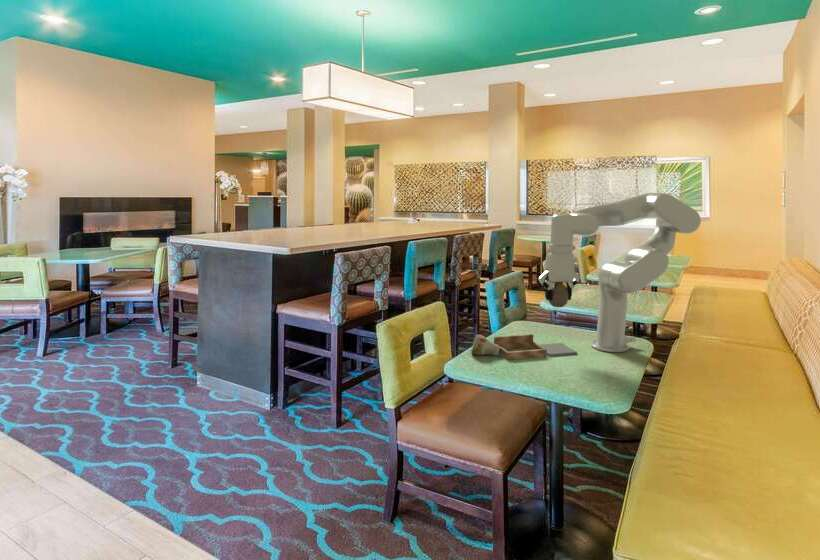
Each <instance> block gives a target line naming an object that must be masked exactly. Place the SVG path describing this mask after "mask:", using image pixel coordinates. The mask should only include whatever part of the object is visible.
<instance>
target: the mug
mask: <svg viewBox="0 0 820 560" xmlns="http://www.w3.org/2000/svg"><path fill="white" fill-rule="evenodd" d="M499 351H500V347H499V345H497V344H494V342H492V341H490V340H489V339H488V338H487V337H486V336H483V335H482V334H476V335H475V338H474V340H473V344H472V348H471V351H470V353H471V354H473V355H476V356H483V355H484V356H485V355H491V356H495V357H496V356H497V355H499V354H498V353H499Z"/></svg>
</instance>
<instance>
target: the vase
mask: <svg viewBox="0 0 820 560" xmlns="http://www.w3.org/2000/svg"><path fill="white" fill-rule="evenodd" d="M566 287H567V286H565V284H564V282H554V284H553V286H552V288H551V290H552V301H548V302H549V305H550V306H552V307H554V308H563V307H565V306H566V305H567V304H568V301H569V300H568V297H569V295H568V291H567V289H566Z"/></svg>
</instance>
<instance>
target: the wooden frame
mask: <svg viewBox="0 0 820 560" xmlns="http://www.w3.org/2000/svg"><path fill="white" fill-rule="evenodd" d="M493 343H494V344H497V345H499V347H500V351H499V353H498V355H499V356H501V357H503V359H505V360H506V361H510V360H522V359H534V358H535V359H536V358H546V357H547V356H548V355H547V349H545V348H543V347H542V346H540V344H538V343H536V342H535V341H534V334H532V333H527V334H516V335H500V336H494V337H493ZM527 349H528V350H527ZM513 350H516V351H513Z"/></svg>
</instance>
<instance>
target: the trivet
mask: <svg viewBox="0 0 820 560" xmlns="http://www.w3.org/2000/svg"><path fill="white" fill-rule="evenodd" d="M539 345H540V346H542V347H543V348H545V349H547V356H548V357H557V356H568V355H569V356H570V355H578V351H576V350H575V349H573V348H571V347H569V346H567V345H565V344H564V343H562V342H556V343H555V342H554V343H544V344H543V343H540V344H539Z"/></svg>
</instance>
